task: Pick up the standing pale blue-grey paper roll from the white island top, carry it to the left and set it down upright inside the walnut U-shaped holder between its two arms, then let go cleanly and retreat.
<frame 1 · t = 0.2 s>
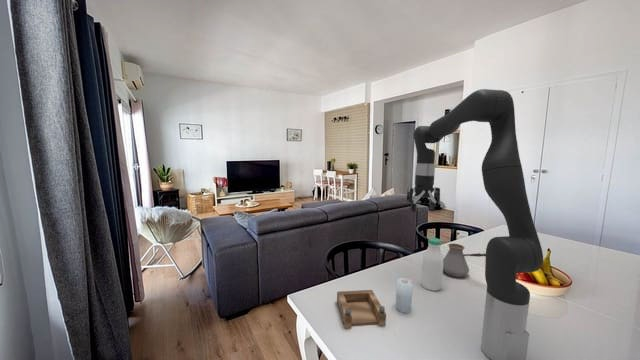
hand: (422, 211, 110), 29 cm above the table, fingers open, 8 cm apart
holder: (359, 313, 87), on the table
milk bottle: (431, 286, 105), on the table
coffee pot: (463, 278, 112), on the table
roll: (403, 308, 90), on the table
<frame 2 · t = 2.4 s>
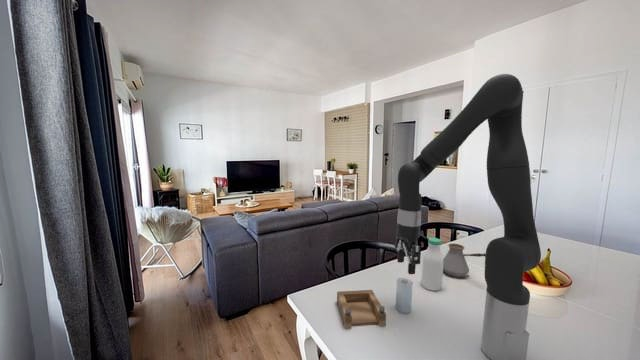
hand: (405, 267, 89), 15 cm above the table, fingers open, 8 cm apart
nothing on the table moved.
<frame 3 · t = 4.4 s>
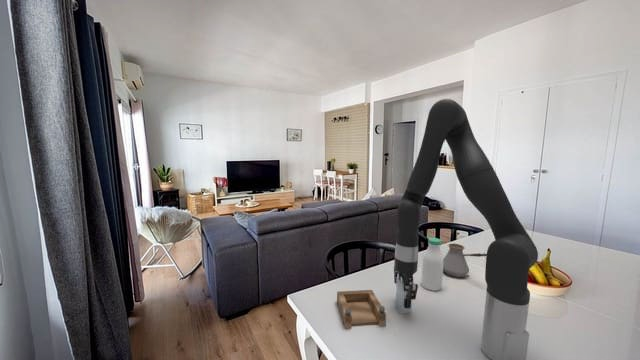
hand: (403, 302, 90), 2 cm above the table, fingers closed on roll, 5 cm apart
roll: (403, 308, 90), on the table, touching gripper
everything else where it was.
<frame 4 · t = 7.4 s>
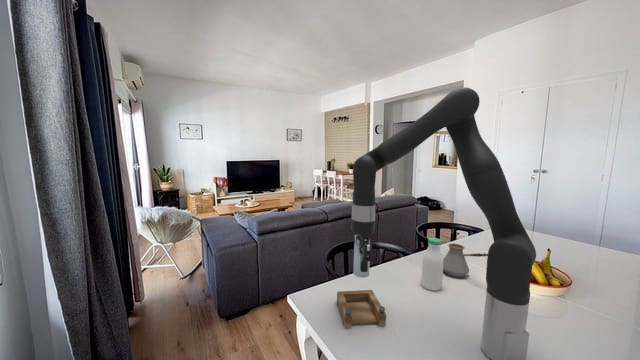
hand: (361, 267, 85), 16 cm above the table, fingers closed on roll, 5 cm apart
roll: (361, 273, 86), point 14 cm above the table, touching gripper
everything else where it was.
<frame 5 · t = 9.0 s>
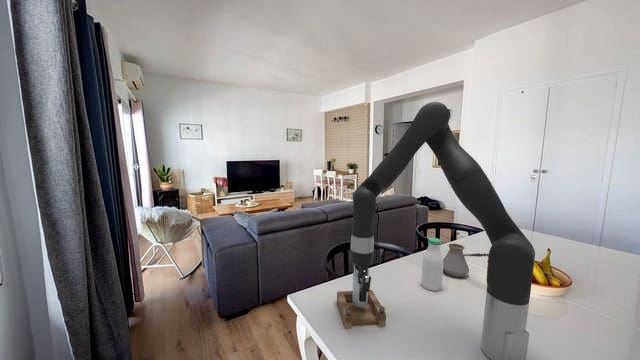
hand: (360, 295, 87), 6 cm above the table, fingers closed on roll, 5 cm apart
roll: (359, 302, 87), point 4 cm above the table, touching gripper
everything else where it was.
when the fingers open (5 cm above the table, at t = 10.2 s): roll drops 2 cm, resting on holder.
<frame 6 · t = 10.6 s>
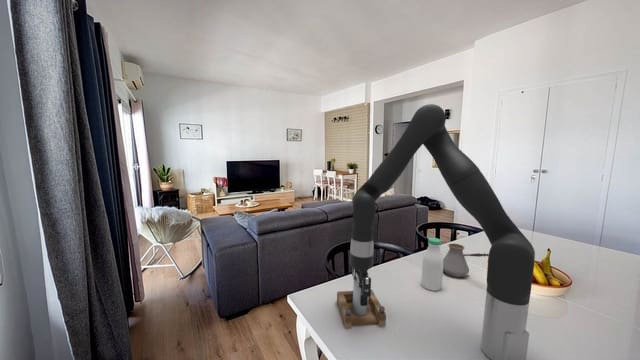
hand: (360, 297, 87), 6 cm above the table, fingers open, 8 cm apart
roll: (359, 310, 87), point 1 cm above the table, touching holder
everything else where it was.
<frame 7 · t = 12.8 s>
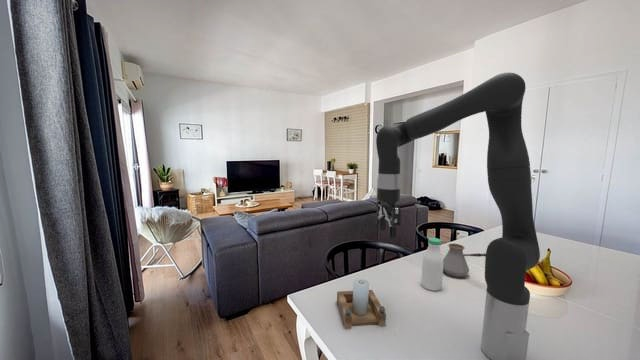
hand: (387, 233, 88), 27 cm above the table, fingers open, 8 cm apart
nothing on the table moved.
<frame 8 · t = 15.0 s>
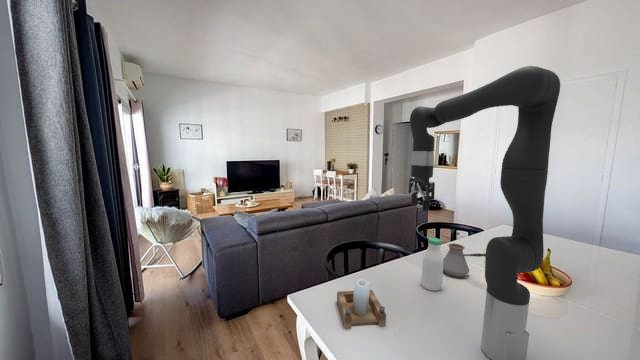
hand: (419, 207, 95), 34 cm above the table, fingers open, 8 cm apart
nothing on the table moved.
at the end: roll inside the target area on the holder (0.1 cm from its centre), point 0.9 cm above the holder's base; roll tilted 3°; the gripper is holding nothing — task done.
